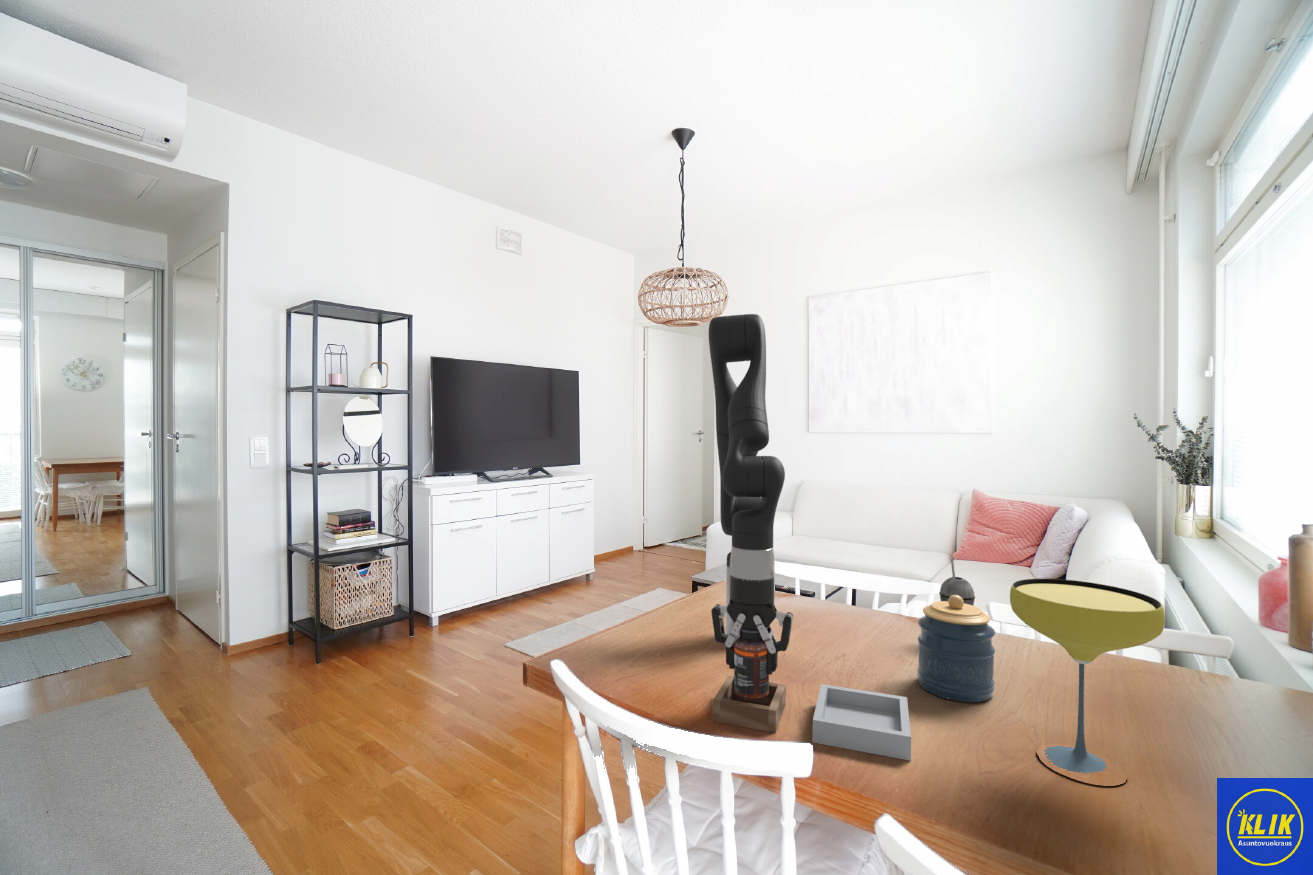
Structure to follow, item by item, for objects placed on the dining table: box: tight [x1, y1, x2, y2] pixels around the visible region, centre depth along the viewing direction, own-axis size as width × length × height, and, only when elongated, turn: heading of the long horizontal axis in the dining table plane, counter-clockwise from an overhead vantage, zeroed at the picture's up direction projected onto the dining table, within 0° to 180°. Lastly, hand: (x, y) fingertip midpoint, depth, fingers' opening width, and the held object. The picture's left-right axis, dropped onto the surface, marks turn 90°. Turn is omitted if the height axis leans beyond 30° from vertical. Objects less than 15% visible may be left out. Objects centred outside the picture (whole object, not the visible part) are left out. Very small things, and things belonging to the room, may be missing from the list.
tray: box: [812, 683, 912, 762], centre depth 95 cm, size 14×14×4 cm
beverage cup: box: [939, 557, 976, 606], centre depth 133 cm, size 7×7×20 cm
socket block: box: [712, 675, 787, 733], centre depth 101 cm, size 10×10×4 cm
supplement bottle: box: [733, 629, 770, 700], centre depth 101 cm, size 6×6×11 cm
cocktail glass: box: [1009, 578, 1166, 774], centre depth 86 cm, size 18×18×25 cm
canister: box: [917, 595, 996, 703], centre depth 111 cm, size 13×13×18 cm
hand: (751, 669), depth 101 cm, fingers closed on supplement bottle, 6 cm apart
